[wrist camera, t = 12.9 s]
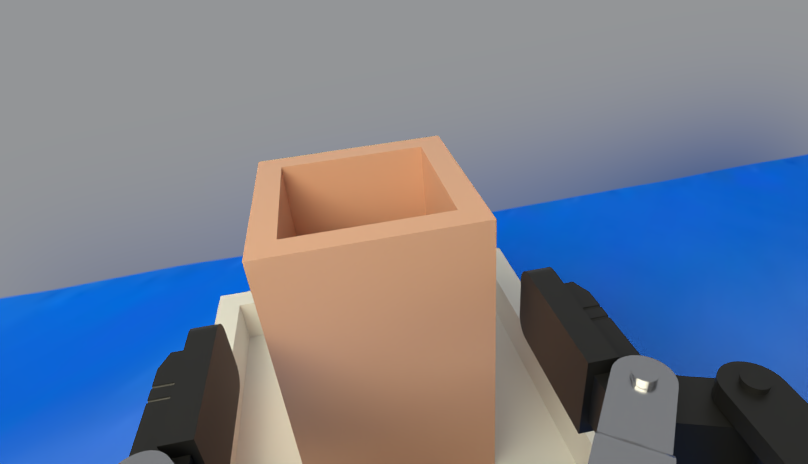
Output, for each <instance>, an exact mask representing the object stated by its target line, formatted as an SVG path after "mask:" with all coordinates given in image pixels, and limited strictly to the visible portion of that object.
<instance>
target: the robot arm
mask: <svg viewBox="0 0 808 464" xmlns="http://www.w3.org/2000/svg"><path fill="white" fill-rule="evenodd" d="M520 324H521V328H522V332H523V334H524V337H525V339H526V341H527V342H528V344H529V346H530V348H531V350H532V351H533V353H534V355H535V357H536V359H537V360H538V362H539V364H540V366H541V368H542V369H543V371H544V373H545V375H546V377H547V378H548V380H549V382H550V384H551V385H552V387H553V389H554V391H555V393H556V394H557V396H558V398H559V400H560V402H561V403H562V405H563V407H564V409H565V411H566V412H567V414H568V416H569V418H570V420H571V421H572V423H573V425H574V427H575V429H576V430H577V432H578V434H581V433H586V432H590V431H594V432H595V435H594V439H593V443H592V447H591V451H590V456H589V460H588V464H808V403H807V402H806V401H805V400H804V399H803V398H802V397H801V396H800V395H799V394H798V393H797V392H796V391H795V390H794V389H793V388H792V387H791V386H790V385H789V384H788V383H787V382H786V381H785V380H784V379H782V378H781V377H780V376H779V375H777V374H776V373H775V372H773V371H771V370H769V369H767V368H765V367H763V366H760V365H757V364H753V363H749V362H739V361H737V362H730V363H727V364H724V365H723V366H721V367H720V368H719V370H718V372H717V375H716V378H703V377H688V376H678V375H675V374H674V373H673V371H672V370H671V369H670V368H669V367H667V366H666V365H665V364H663V363H661V362H660V361H658V360H655V359H653V358H650V357H646V356H641V355H640V354H639V353H638V352H637V350H636V349H635V348H634V347H633V345H632V344H631V343H630V342H629V341H628V339H627V338H626V337H625V336H624V334H623V333H622V332H621V331H620V329H619V328H618V327H617V326H616V324H615V323H614V322H613V321H612V320H611V318H608V315H607V313H606V312H605V311H604V310H603V308H602V307H600V305H599V303H598V302H597V301H596V300H595V299H594V297H593V296H592V295H591V294H590V292H589V291H587V290H585V289H584V288H582V287H580V286H579V285H577V284H575V283H574V282H569V283H563V282H562V280H561V279H560V278H559V276H558V275H557V274H556V272H555V271H554V270H553V269H552V268H550V267H547V268H542V269H536V270H530V271H525V272H523V273H522V276H521V293H520ZM239 393H240V378H239V371H238V367H237V364H236V361H235V358H234V355H233V352H232V349H231V346H230V344H229V341H228V338H227V335H226V332H225V329H224V327H223V325H222V324H216V325H210V326H204V327H199V328H193V329H190V331H189V333H188V336H187V340H186V343H185V347H184V350H183V351H178V352H172V353H170V355H169V356H168V357H167V358H166V360H165V361H164V362H163V363H162V364H161V366H160V367H159V368H158V370H157V373H156V376H155V379H154V382H153V385H152V389H151V391H150V394H149V397H148V404H146V406H145V409H144V412H143V415H142V419H141V422H140V425H139V428H138V431H137V434H136V437H135V440H134V443H133V446H132V449H131V452H130V455H129V457H128V458H126V459H124V460H123V461H121V462H120V463H119V464H230V461H231V453H232V446H233V438H234V431H235V423H236V416H237V408H238V400H239Z"/></svg>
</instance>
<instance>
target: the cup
mask: <svg viewBox="0 0 808 464" xmlns="http://www.w3.org/2000/svg"><path fill="white" fill-rule="evenodd" d="M496 220H497V219H496V218H495V216H494V215H493V214H492V212H491V211H490V209H489V208H488V206H487V205H486V203H485V202H484V201H483V199H482V198H481V196H480V195H479V193H478V192H477V191H476V189H475V188H474V186H473V185H472V184H471V182H470V181H469V179H468V178H467V177H466V175H465V173H464V172H463V171H462V169H461V168H460V166H459V165H458V163H457V162H456V160H455V159H454V158H453V156H452V155H451V153H450V152H449V150H448V149H447V148H446V146H445V145H444V144H443V142H442V140H441V139H440V138H439V136H431V137H425V138H418V139H412V140H405V141H398V142H391V143H384V144H378V145H370V146H364V147H357V148H350V149H344V150H337V151H330V152H323V153H316V154H309V155H303V156H296V157H289V158H282V159H276V160H269V161H262V162H259V163H258V170H257V176H256V181H255V187H254V193H253V199H252V206H251V211H250V217H249V224H248V229H247V236H246V242H245V248H244V254H243V260H242V263H243V266H244V270H245V273H246V277H247V280H248V283H249V287H250V290H251V293H252V297H253V300H254V303H255V307H256V310H257V313H258V317H259V320H260V323H261V327H262V330H263V333H264V337H265V340H266V344H267V347H268V350H269V354H270V357H271V360H272V364H273V367H274V370H275V374H276V377H277V380H278V384H279V387H280V390H281V394H282V397H283V400H284V404H285V407H286V411H287V414H288V417H289V421H290V424H291V427H292V431H293V434H294V437H295V441H296V444H297V447H298V451H299V454H300V457H301V461H302V464H495V361H496Z"/></svg>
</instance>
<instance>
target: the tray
mask: <svg viewBox="0 0 808 464" xmlns="http://www.w3.org/2000/svg"><path fill="white" fill-rule="evenodd" d="M520 293H521V281H520V280H519V278H518V277H517V275H516V274H515V272H514V270H513V269H512V267H511V266H510V264H509V263H508V261H507V260H506V258H505V257H504V255H503V253H502V252H501V250H500V249H499V248H496V361H495V464H588V460H589V456H590V451H591V447H592V443H593V439H594V435H595V432H594V431H590V432H586V433H581V434H578V432H577V430H576V429H575V427H574V425H573V423H572V421H571V420H570V418H569V416H568V414H567V412H566V411H565V409H564V407H563V405H562V403H561V402H560V400H559V398H558V396H557V394H556V393H555V391H554V389H553V387H552V385H551V384H550V382H549V380H548V378H547V377H546V375H545V373H544V371H543V369H542V368H541V366H540V364H539V362H538V360H537V359H536V357H535V355H534V353H533V351H532V350H531V348H530V346H529V344H528V342H527V341H526V339H525V337H524V334H523V332H522V328H521V324H520ZM216 324H222V325H223V327H224V329H225V332H226V335H227V338H228V341H229V344H230V346H231V349H232V352H233V355H234V358H235V361H236V364H237V367H238V371H239V378H240V393H239V400H238V408H237V416H236V423H235V431H234V438H233V446H232V453H231V461H230V464H302V461H301V457H300V454H299V451H298V447H297V444H296V441H295V437H294V434H293V431H292V427H291V424H290V421H289V417H288V414H287V411H286V407H285V404H284V400H283V397H282V394H281V390H280V387H279V384H278V380H277V377H276V374H275V370H274V367H273V364H272V360H271V357H270V354H269V350H268V347H267V344H266V340H265V337H264V333H263V330H262V327H261V323H260V320H259V317H258V313H257V310H256V307H255V303H254V300H253V297H252V293H251V291H248V292H243V293H237V294H231V295H225V296H221V297H220V302H219V306H218V311H217V316H216V321H215V325H216Z"/></svg>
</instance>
